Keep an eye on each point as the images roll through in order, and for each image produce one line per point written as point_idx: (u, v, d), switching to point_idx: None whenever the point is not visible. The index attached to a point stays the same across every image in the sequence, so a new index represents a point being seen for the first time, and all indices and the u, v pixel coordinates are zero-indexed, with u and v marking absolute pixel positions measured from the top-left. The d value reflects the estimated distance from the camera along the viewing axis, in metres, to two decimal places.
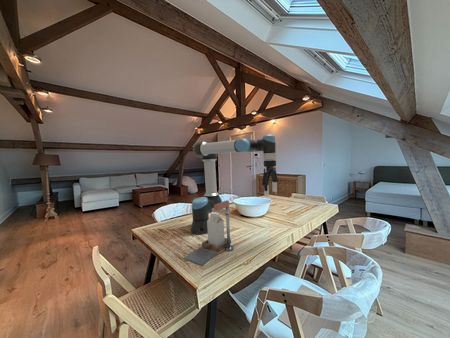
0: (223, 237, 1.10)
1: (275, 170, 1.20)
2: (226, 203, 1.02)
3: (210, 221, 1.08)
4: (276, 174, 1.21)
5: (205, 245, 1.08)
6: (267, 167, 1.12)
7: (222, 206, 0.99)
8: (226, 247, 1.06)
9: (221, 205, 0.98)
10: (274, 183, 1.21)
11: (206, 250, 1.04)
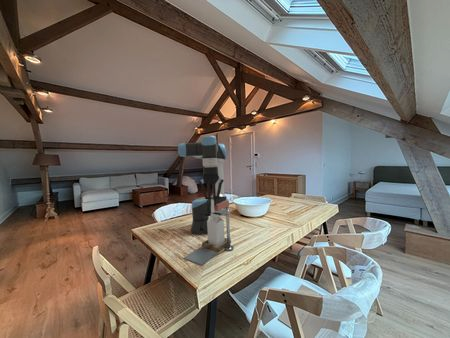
0: (223, 237, 1.10)
1: (220, 183, 0.95)
2: (226, 203, 1.02)
3: (210, 221, 1.08)
4: (219, 189, 0.95)
5: (205, 245, 1.08)
6: (203, 175, 0.94)
7: (222, 206, 0.99)
8: (226, 247, 1.06)
9: (221, 205, 0.98)
10: None
11: (206, 250, 1.04)
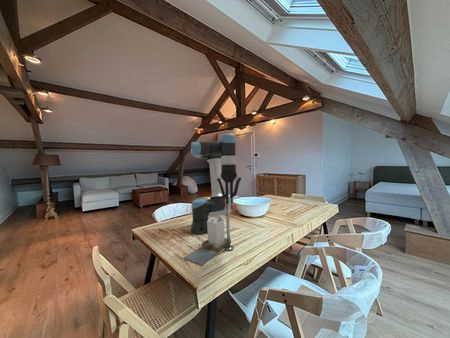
0: (223, 237, 1.10)
1: (238, 181, 0.95)
2: None
3: (210, 221, 1.08)
4: (237, 187, 0.95)
5: (205, 245, 1.08)
6: (221, 172, 0.95)
7: None
8: (226, 247, 1.06)
9: None
10: None
11: (206, 250, 1.04)
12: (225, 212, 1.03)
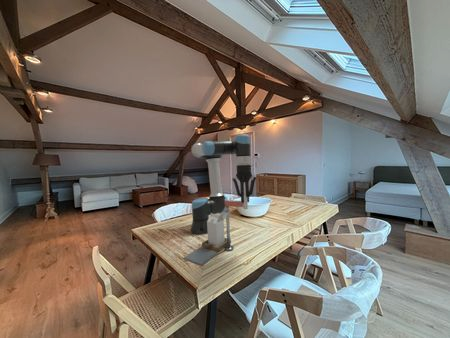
0: (223, 237, 1.10)
1: (253, 180, 0.98)
2: None
3: (210, 221, 1.08)
4: (252, 186, 0.98)
5: (205, 245, 1.08)
6: None
7: None
8: (226, 247, 1.06)
9: None
10: None
11: (206, 250, 1.04)
12: (228, 212, 1.03)
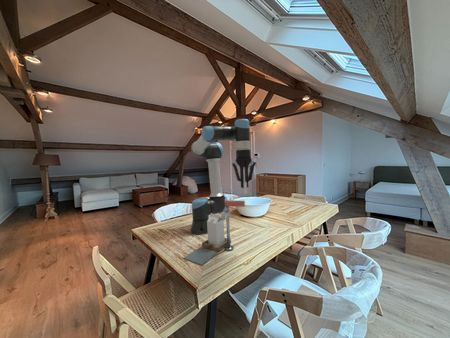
0: (223, 237, 1.10)
1: (253, 165, 0.98)
2: None
3: (210, 221, 1.08)
4: (252, 171, 0.98)
5: (205, 245, 1.08)
6: (236, 158, 0.97)
7: None
8: (226, 247, 1.06)
9: None
10: None
11: (206, 250, 1.04)
12: (228, 212, 1.03)
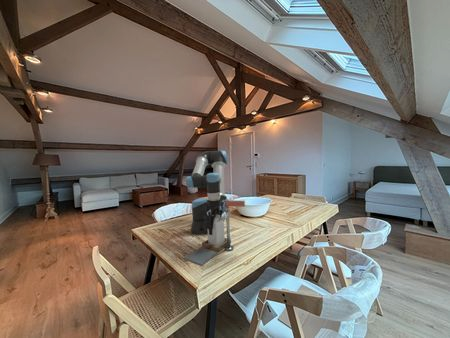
0: (223, 237, 1.10)
1: (222, 210, 1.14)
2: None
3: None
4: None
5: (205, 245, 1.08)
6: (210, 207, 1.07)
7: None
8: (226, 247, 1.06)
9: None
10: None
11: (206, 250, 1.04)
12: (228, 212, 1.03)
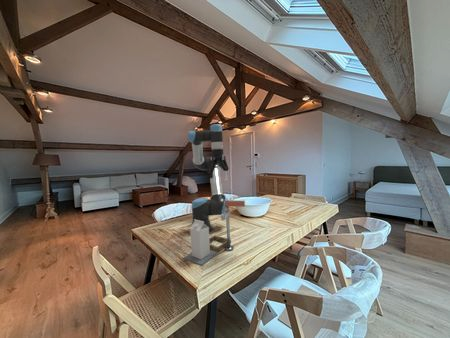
0: (208, 246, 0.99)
1: (224, 159, 1.24)
2: None
3: (193, 228, 0.97)
4: (226, 163, 1.25)
5: None
6: (213, 155, 1.16)
7: None
8: (226, 247, 1.06)
9: None
10: (224, 172, 1.25)
11: None
12: (228, 212, 1.03)
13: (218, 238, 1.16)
